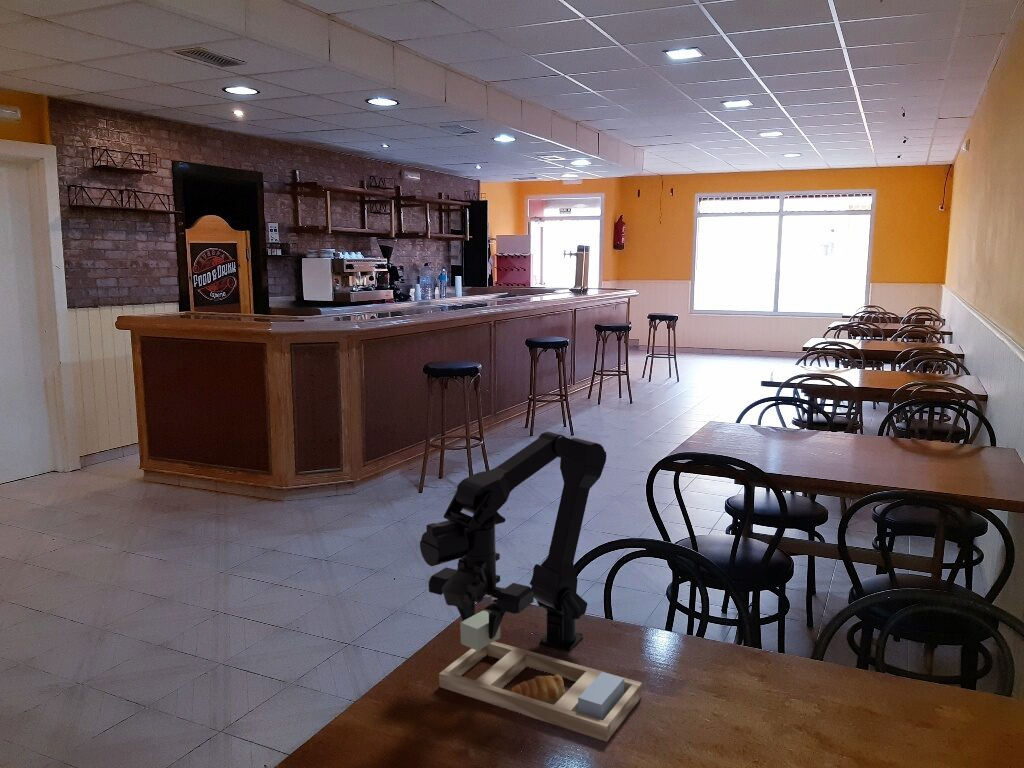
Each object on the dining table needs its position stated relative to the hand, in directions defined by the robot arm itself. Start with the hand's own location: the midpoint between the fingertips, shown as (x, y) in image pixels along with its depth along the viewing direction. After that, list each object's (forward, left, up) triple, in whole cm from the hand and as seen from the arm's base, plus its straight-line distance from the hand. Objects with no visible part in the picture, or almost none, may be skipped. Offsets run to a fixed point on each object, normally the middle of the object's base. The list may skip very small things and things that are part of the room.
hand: (481, 635), depth 138 cm
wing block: (0, +23, -8) cm, 25 cm away
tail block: (0, 0, -1) cm, 1 cm away
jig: (0, +12, -7) cm, 14 cm away
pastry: (+2, +13, -8) cm, 15 cm away
